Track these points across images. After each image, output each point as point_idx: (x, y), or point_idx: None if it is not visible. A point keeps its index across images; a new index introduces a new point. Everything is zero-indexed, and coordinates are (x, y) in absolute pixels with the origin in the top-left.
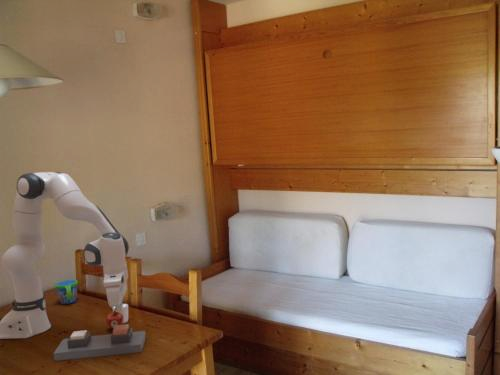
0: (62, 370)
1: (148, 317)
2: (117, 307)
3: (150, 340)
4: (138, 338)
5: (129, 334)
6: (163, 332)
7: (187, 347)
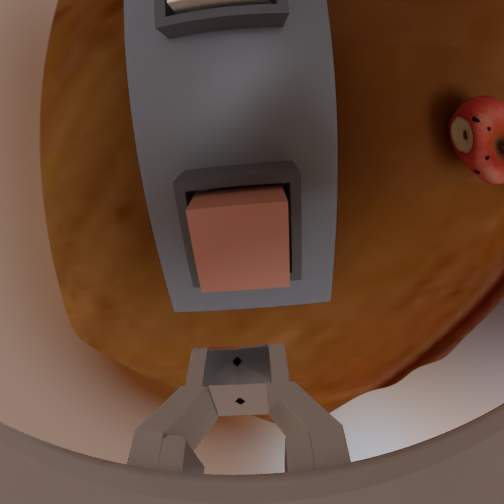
0: (51, 27)
1: (497, 248)
2: (187, 387)
3: None
4: (242, 292)
5: None
6: (353, 328)
7: None
